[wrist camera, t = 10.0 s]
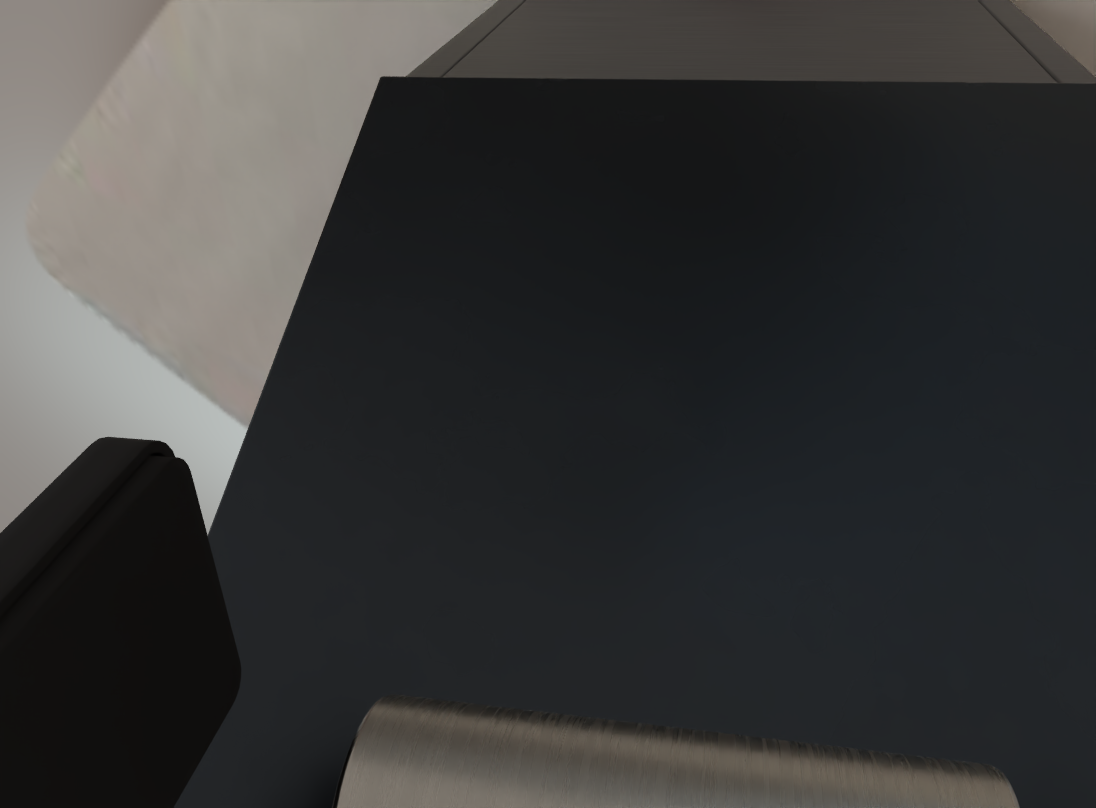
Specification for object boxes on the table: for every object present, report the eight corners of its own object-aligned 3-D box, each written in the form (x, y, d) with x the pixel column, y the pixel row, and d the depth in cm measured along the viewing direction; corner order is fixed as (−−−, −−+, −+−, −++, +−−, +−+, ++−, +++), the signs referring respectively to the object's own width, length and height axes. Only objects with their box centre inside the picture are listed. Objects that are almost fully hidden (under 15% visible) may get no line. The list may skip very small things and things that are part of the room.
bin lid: (1413, 1338, 9) (2058, 1531, 5) (43, 1070, 11) (-332, 1042, 7) (1117, 119, 18) (1250, -185, 14) (389, 108, 20) (314, -155, 16)
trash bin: (909, 452, 36) (963, 706, 26) (534, 427, 38) (454, 650, 29) (993, -16, 28) (1117, 94, 18) (513, -13, 30) (392, 86, 21)
